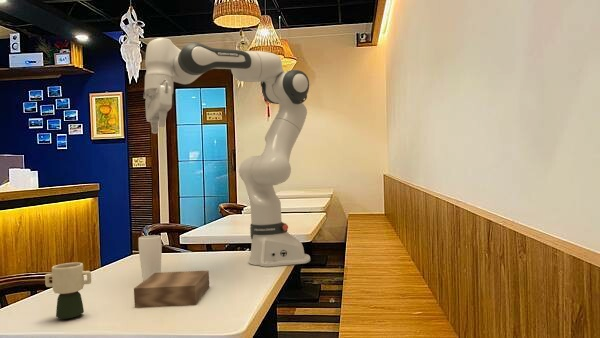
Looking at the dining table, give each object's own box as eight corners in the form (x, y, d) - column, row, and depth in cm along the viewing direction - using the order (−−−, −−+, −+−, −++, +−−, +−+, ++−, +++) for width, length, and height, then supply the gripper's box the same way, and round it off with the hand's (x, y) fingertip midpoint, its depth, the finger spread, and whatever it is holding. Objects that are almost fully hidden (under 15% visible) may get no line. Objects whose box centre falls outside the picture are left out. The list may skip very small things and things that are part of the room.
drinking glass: (156, 287, 147) (154, 238, 147) (136, 287, 149) (133, 238, 149) (167, 282, 154) (164, 234, 154) (147, 282, 155) (145, 235, 155)
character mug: (97, 311, 126) (94, 260, 126) (88, 319, 119) (85, 266, 119) (52, 314, 124) (50, 263, 124) (41, 323, 117) (38, 269, 117)
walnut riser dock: (209, 287, 145) (208, 270, 145) (195, 304, 127) (194, 285, 127) (155, 289, 145) (155, 272, 145) (134, 307, 127) (133, 288, 127)
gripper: (177, 78, 149) (177, 123, 147) (161, 97, 166) (160, 137, 164) (156, 75, 146) (155, 121, 144) (142, 95, 163) (141, 135, 161)
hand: (158, 129), depth 154 cm, fingers open, 8 cm apart
